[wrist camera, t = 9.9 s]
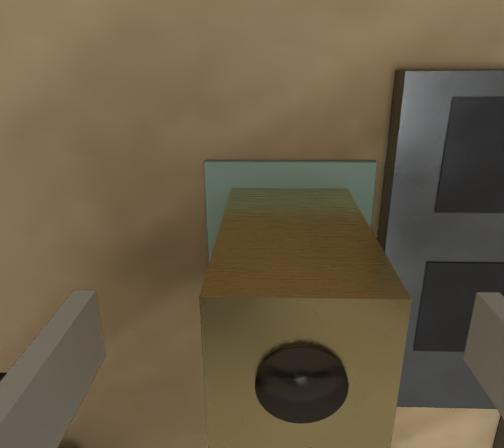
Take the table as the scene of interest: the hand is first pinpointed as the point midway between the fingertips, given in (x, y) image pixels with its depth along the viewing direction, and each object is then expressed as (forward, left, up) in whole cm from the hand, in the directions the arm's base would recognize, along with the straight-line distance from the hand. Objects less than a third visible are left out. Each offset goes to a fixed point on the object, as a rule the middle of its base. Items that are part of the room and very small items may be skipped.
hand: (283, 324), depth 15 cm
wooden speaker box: (0, 0, -7) cm, 7 cm away
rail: (+9, -5, -7) cm, 13 cm away
